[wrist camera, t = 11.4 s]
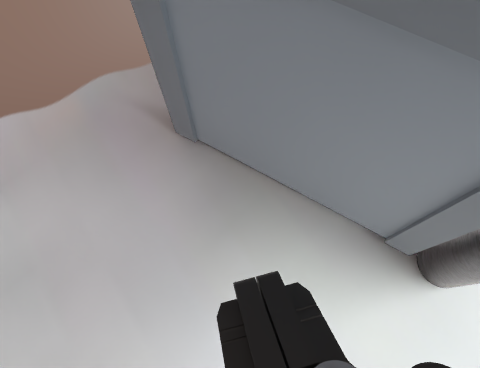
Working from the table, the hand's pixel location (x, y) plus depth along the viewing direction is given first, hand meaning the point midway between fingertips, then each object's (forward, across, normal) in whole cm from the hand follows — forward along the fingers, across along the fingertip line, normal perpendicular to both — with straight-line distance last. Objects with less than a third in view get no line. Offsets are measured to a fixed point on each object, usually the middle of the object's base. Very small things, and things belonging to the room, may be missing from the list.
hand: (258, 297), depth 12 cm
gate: (+12, -5, +2) cm, 13 cm away
